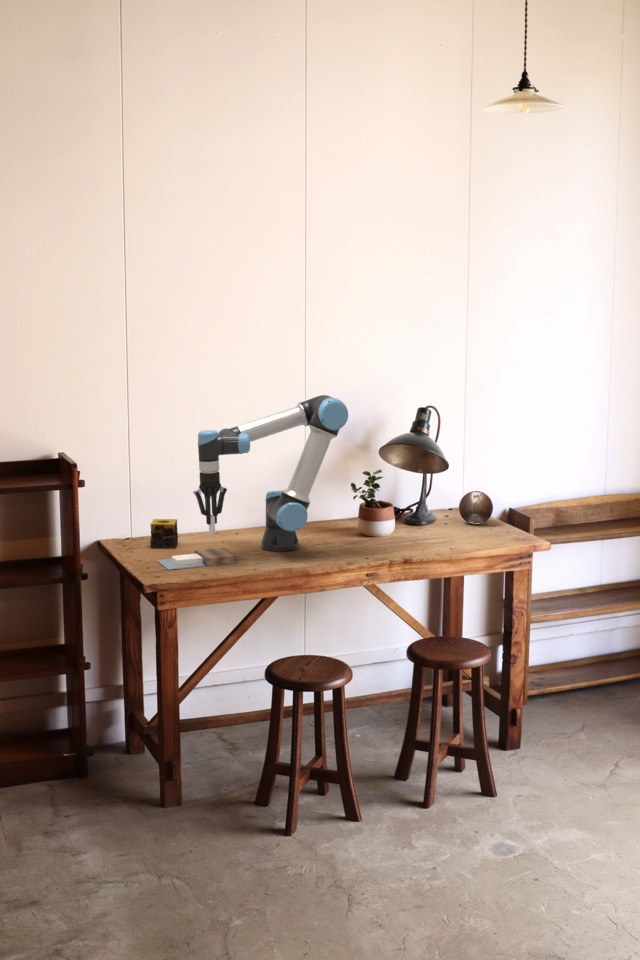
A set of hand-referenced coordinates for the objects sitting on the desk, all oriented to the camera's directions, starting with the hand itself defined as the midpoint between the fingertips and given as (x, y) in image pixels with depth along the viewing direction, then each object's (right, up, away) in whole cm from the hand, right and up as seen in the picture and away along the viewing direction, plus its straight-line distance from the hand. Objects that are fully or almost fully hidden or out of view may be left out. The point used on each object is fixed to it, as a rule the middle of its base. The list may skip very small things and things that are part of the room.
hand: (212, 532), depth 404 cm
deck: (+1, -11, +1) cm, 11 cm away
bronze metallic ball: (+111, 0, +71) cm, 131 cm away
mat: (-11, -12, -5) cm, 17 cm away
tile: (-9, -11, -4) cm, 15 cm away
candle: (-22, -7, +23) cm, 32 cm away
